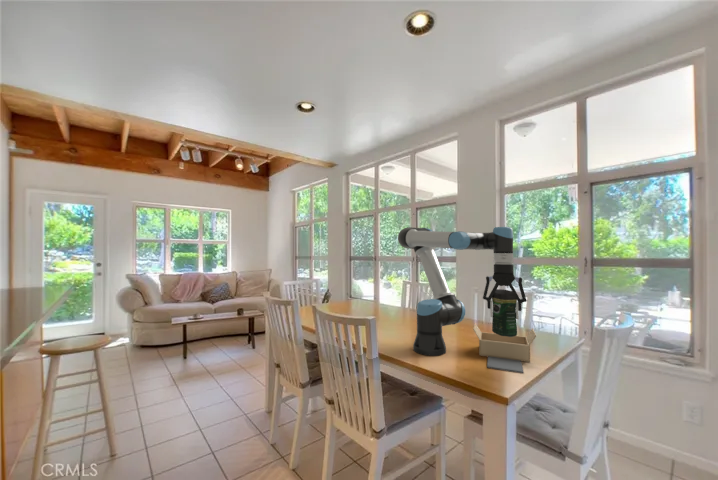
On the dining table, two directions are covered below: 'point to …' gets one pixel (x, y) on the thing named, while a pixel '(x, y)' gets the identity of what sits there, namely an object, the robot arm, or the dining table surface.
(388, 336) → the dining table surface
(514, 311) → the coffee jar
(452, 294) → the robot arm
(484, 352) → the carton
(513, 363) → the mat
